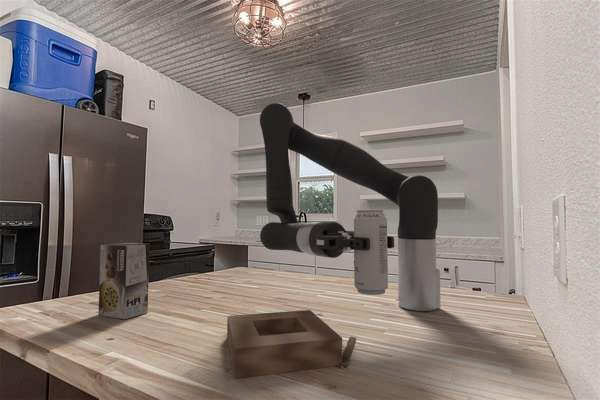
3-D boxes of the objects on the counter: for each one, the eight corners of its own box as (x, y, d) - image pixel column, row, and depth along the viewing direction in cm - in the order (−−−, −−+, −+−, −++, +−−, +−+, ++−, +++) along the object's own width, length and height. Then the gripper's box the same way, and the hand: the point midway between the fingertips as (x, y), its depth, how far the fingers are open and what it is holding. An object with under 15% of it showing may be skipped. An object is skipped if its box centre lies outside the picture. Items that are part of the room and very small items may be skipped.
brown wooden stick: (349, 335, 61) (357, 336, 60) (349, 340, 61) (357, 341, 60) (337, 363, 49) (346, 364, 48) (337, 370, 49) (346, 371, 48)
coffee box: (149, 312, 76) (151, 243, 77) (123, 320, 70) (126, 245, 71) (122, 308, 80) (125, 241, 81) (96, 315, 74) (99, 243, 75)
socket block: (309, 330, 65) (309, 309, 65) (342, 365, 49) (342, 337, 50) (227, 338, 60) (227, 315, 60) (234, 378, 45) (235, 348, 45)
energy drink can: (359, 287, 64) (358, 210, 65) (390, 289, 62) (389, 210, 62) (350, 293, 59) (349, 210, 59) (384, 297, 56) (383, 209, 57)
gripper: (294, 222, 68) (352, 222, 54) (344, 221, 76) (405, 221, 63) (294, 258, 68) (353, 268, 54) (345, 253, 76) (406, 261, 63)
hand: (381, 243), depth 59 cm, fingers closed on energy drink can, 6 cm apart
